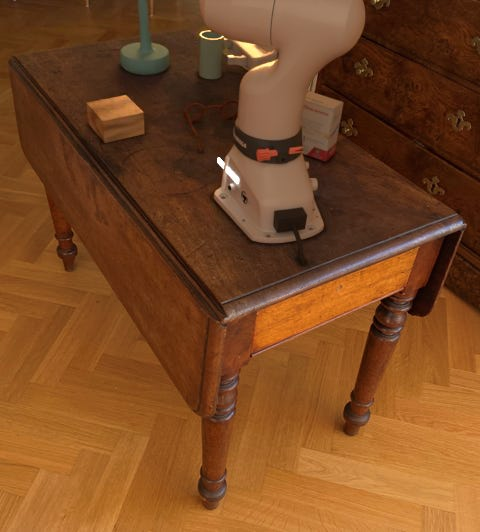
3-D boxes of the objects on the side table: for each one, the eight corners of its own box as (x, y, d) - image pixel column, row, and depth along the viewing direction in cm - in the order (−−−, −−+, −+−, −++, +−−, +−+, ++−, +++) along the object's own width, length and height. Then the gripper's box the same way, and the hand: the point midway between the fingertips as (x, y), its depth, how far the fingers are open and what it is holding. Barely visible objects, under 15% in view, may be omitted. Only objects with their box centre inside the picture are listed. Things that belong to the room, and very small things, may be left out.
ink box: (335, 153, 128) (345, 101, 120) (325, 162, 125) (334, 110, 117) (300, 140, 131) (307, 88, 123) (289, 149, 128) (295, 96, 120)
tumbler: (225, 78, 152) (227, 38, 146) (202, 80, 151) (203, 40, 144) (218, 68, 157) (219, 29, 150) (196, 70, 155) (196, 31, 148)
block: (144, 134, 129) (143, 112, 125) (104, 143, 125) (102, 121, 122) (127, 115, 134) (125, 94, 131) (88, 124, 130) (86, 102, 127)
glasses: (239, 117, 137) (240, 96, 134) (258, 146, 128) (260, 124, 125) (182, 123, 133) (182, 102, 130) (198, 153, 124) (199, 131, 121)
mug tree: (119, 56, 158) (112, -49, 142) (167, 55, 161) (165, -47, 144) (121, 76, 149) (113, -33, 133) (171, 75, 151) (170, -32, 135)
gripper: (253, 21, 161) (204, 25, 156) (288, 50, 147) (236, 56, 142) (251, 45, 165) (203, 50, 160) (285, 75, 151) (234, 81, 146)
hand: (219, 53), depth 151 cm, fingers open, 8 cm apart
